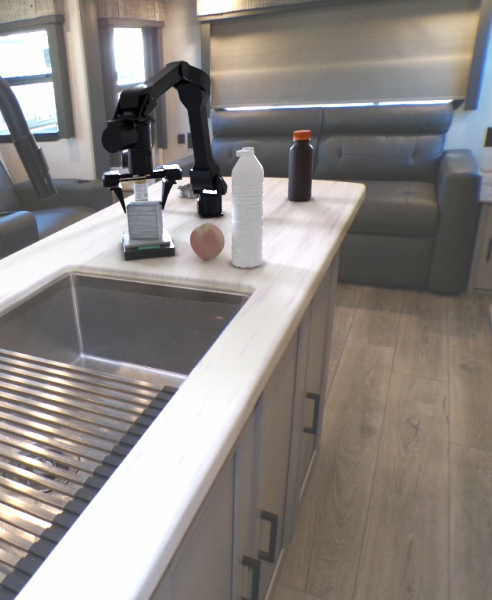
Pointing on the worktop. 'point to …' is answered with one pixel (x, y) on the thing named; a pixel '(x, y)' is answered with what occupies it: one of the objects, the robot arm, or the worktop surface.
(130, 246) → the kitchen scale
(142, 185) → the sprinkles bottle
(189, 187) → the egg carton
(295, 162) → the vinegar
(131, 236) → the medicine box
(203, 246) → the apple
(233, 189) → the water bottle
